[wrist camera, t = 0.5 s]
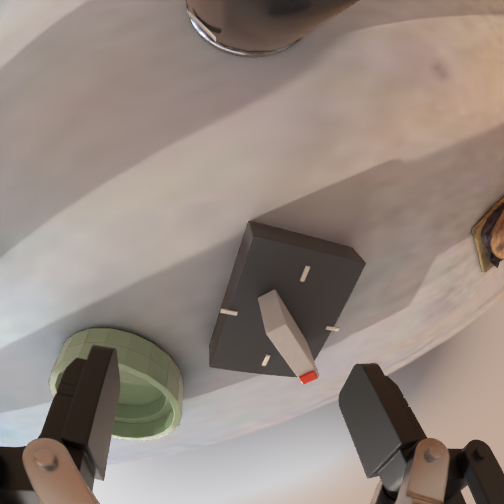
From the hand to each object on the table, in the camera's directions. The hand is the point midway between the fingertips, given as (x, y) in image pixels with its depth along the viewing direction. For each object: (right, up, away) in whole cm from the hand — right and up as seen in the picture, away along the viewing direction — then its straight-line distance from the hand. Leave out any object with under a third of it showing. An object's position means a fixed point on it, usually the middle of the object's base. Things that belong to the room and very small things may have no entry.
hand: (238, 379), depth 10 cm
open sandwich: (+31, +7, +20) cm, 38 cm away
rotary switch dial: (+3, -1, +20) cm, 20 cm away
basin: (-15, -10, +22) cm, 28 cm away
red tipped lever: (+3, -2, +17) cm, 18 cm away
